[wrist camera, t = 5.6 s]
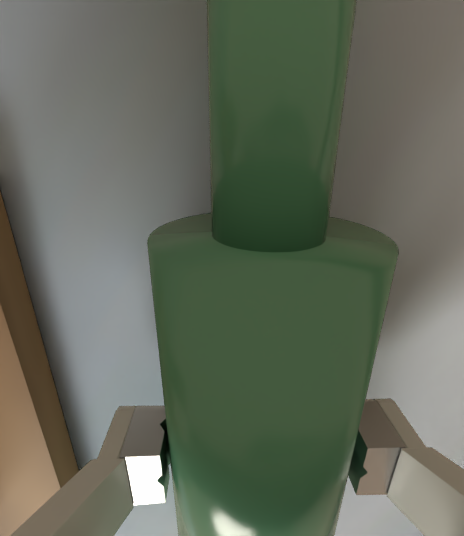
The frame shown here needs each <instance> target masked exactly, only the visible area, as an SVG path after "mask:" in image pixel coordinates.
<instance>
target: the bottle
mask: <svg viewBox="0 0 464 536" xmlns="http://www.w3.org/2000/svg"><path fill="white" fill-rule="evenodd" d="M356 1H357V0H207V35H208V82H209V129H210V176H211V213H208V214H201V215H195V216H190V217H186V218H182V219H178V220H175V221H172V222H169V223H167V224H165V225H162V226H160V227H159V228H157V229H156V230H154V231H153V232H152V233H151V234H150V236H149V238H148V242H147V245H148V254H149V264H150V273H151V283H152V292H153V301H154V311H155V320H156V330H157V339H158V348H159V358H160V367H161V377H162V386H163V395H164V405H165V414H166V424H167V433H168V443H169V452H170V461H171V471H172V480H173V490H174V499H175V508H176V518H177V527H178V536H334V534H335V530H336V526H337V521H338V517H339V513H340V508H341V504H342V499H343V495H344V491H345V486H346V482H347V477H348V473H349V469H350V464H351V460H352V455H353V451H354V447H355V442H356V438H357V433H358V429H359V425H360V420H361V416H362V412H363V407H364V403H365V398H366V394H367V390H368V385H369V381H370V376H371V372H372V368H373V363H374V359H375V354H376V350H377V346H378V341H379V337H380V332H381V328H382V324H383V319H384V315H385V311H386V306H387V302H388V297H389V293H390V289H391V284H392V280H393V275H394V271H395V267H396V262H397V258H398V253H399V251H398V247H397V245H396V244H395V242H394V241H392V240H391V239H390V238H389V237H387V236H386V235H384V234H383V233H381V232H379V231H376V230H374V229H372V228H369V227H367V226H364V225H361V224H358V223H354V222H351V221H347V220H343V219H338V218H333V217H329V212H330V204H331V196H332V188H333V180H334V173H335V165H336V157H337V149H338V141H339V134H340V126H341V118H342V110H343V103H344V95H345V87H346V79H347V71H348V64H349V56H350V48H351V40H352V32H353V25H354V17H355V9H356Z"/></svg>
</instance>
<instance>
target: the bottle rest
mask: <svg viewBox="0 0 464 536" xmlns="http://www.w3.org/2000/svg"><path fill="white" fill-rule="evenodd" d="M78 472H79V470H78V466H77V463H76V459H75V455H74V452H73V448H72V445H71V441H70V438H69V434H68V430H67V427H66V423H65V420H64V416H63V413H62V409H61V406H60V402H59V398H58V395H57V391H56V388H55V384H54V381H53V377H52V373H51V370H50V366H49V363H48V359H47V356H46V352H45V348H44V345H43V341H42V338H41V334H40V331H39V327H38V324H37V320H36V316H35V313H34V309H33V306H32V302H31V299H30V295H29V291H28V288H27V284H26V281H25V277H24V274H23V270H22V266H21V263H20V259H19V256H18V252H17V249H16V245H15V242H14V238H13V234H12V231H11V227H10V224H9V220H8V217H7V213H6V209H5V206H4V202H3V199H2V195H1V192H0V536H10V535H11V534H12V533H13V532H15V531H16V530H17V529H18V528H19V527H20V526H21V525H22V524H23V523H24V522H25V521H26V520H27V519H28V518H30V517H31V516H32V515H33V514H34V513H35V512H36V511H37V510H38V509H39V508H40V507H41V506H42V505H43V504H45V503H46V502H47V501H48V500H49V499H50V498H51V497H52V496H53V495H54V494H55V493H56V492H57V491H58V490H60V489H61V488H62V487H63V486H64V485H65V484H66V483H67V482H68V481H69V480H70V479H71V478H72V477H73V476H74V475H76V474H77V473H78Z"/></svg>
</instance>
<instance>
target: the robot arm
mask: <svg viewBox="0 0 464 536" xmlns="http://www.w3.org/2000/svg"><path fill="white" fill-rule="evenodd" d="M170 463H171V461H170V452H169V443H168V433H167V424H166V414H165V406H119V408H118V409H117V410H116V412H115V414H114V417H113V420H112V422H111V425H110V427H109V430H108V432H107V435H106V438H105V440H104V443H103V445H102V448H101V450H100V453H99V456H98V458H97V459H93V460H91V461H89V462H88V463H87V464H86V465H85V466H84V467H83V468H82V469H81V470H80V471H79V472H78V473H77V474H76V475H74V476H73V477H72V478H71V479H70V480H69V481H68V482H67V483H66V484H65V485H64V486H63V487H62V488H61V489H60V490H58V491H57V492H56V493H55V494H54V495H53V496H52V497H51V498H50V499H49V500H48V501H47V502H46V503H45V504H43V505H42V506H41V507H40V508H39V509H38V510H37V511H36V512H35V513H34V514H33V515H32V516H31V517H30V518H28V519H27V520H26V521H25V522H24V523H23V524H22V525H21V526H20V527H19V528H18V529H17V530H16V531H15V532H13V533H12V534H11V535H10V536H114V535H115V533H116V532H117V530H118V529H119V527H120V526H121V525H122V523H123V522H124V520H125V519H126V517H127V516H128V515H129V513H130V512H131V510H132V509H133V505H142V504H156V503H166V496H167V490H168V483H169V467H168V465H169V464H170ZM348 475H349V478H350V480H351V483H352V485H353V488H354V490H355V493H356V495H384V494H387V497H388V498H389V499H390V500H391V501H392V502H393V503H394V504H395V505H396V506H397V507H398V508H399V510H400V511H401V512H402V513H403V514H404V515H405V516H406V517H407V518H408V519H409V520H410V521H411V522H412V523H413V524H414V525H415V526H416V527H417V528H418V529H419V530H420V531H421V532H422V534H423V535H424V536H464V469H462V468H461V467H460V466H458V465H457V464H455V463H454V462H452V461H451V460H449V459H448V458H446V457H445V456H443V455H442V454H441V453H439V452H438V451H436V450H435V449H433V448H432V447H426V446H425V445H424V443H423V442H422V440H421V439H420V438H419V436H418V435H417V433H416V432H415V430H414V429H413V427H412V426H411V425H410V423H409V422H408V420H407V419H406V417H405V416H404V415H403V413H402V412H401V410H400V409H399V407H398V406H397V405H396V403H395V402H394V401H393V400H392V399H390V398H388V399H365V403H364V407H363V412H362V416H361V420H360V425H359V429H358V433H357V438H356V442H355V447H354V451H353V455H352V460H351V464H350V469H349V473H348Z"/></svg>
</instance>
